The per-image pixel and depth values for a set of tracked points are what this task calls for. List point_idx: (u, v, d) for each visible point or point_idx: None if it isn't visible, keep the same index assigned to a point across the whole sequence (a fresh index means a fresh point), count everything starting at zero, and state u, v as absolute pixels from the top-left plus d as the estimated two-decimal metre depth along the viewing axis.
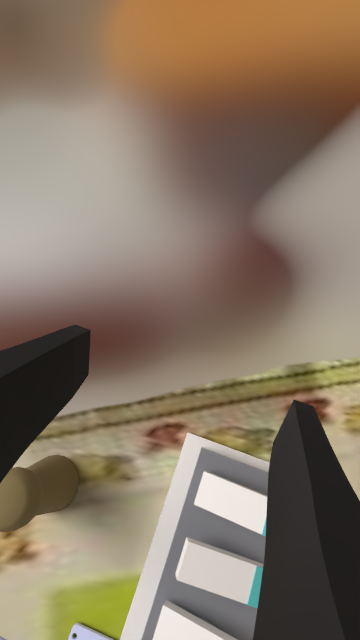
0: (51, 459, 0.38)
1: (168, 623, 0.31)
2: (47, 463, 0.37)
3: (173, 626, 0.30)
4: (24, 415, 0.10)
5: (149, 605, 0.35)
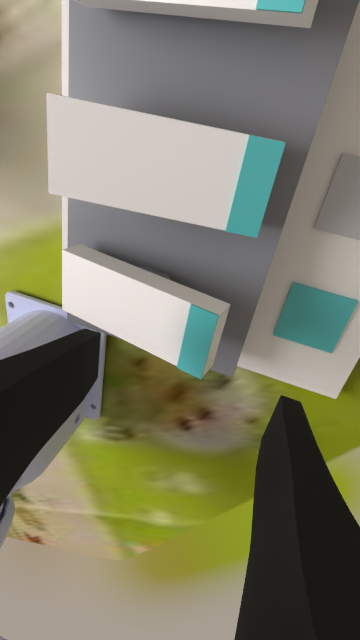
0: None
1: (77, 277, 0.16)
2: None
3: (85, 281, 0.16)
4: (36, 420, 0.10)
5: None
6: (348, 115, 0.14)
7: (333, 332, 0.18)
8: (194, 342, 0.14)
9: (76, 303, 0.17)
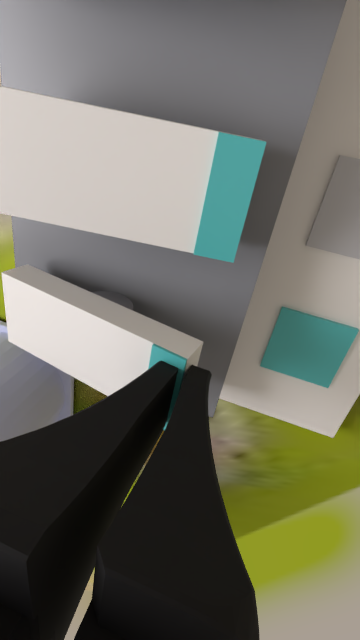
0: None
1: (21, 305, 0.13)
2: None
3: (30, 310, 0.13)
4: (134, 460, 0.09)
5: None
6: (347, 107, 0.11)
7: (329, 364, 0.15)
8: None
9: (23, 336, 0.14)
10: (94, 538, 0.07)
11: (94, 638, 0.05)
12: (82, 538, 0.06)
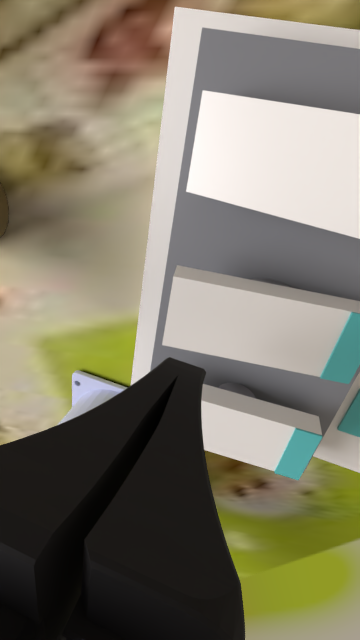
0: None
1: None
2: None
3: None
4: (137, 461, 0.09)
5: None
6: None
7: None
8: (294, 454, 0.16)
9: None
10: None
11: (82, 632, 0.05)
12: None
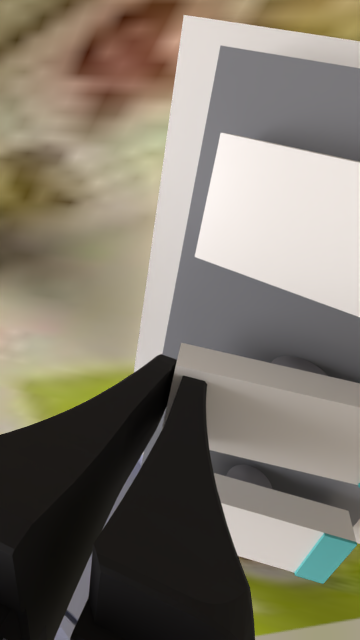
0: None
1: None
2: None
3: None
4: (126, 457, 0.09)
5: None
6: None
7: None
8: (320, 558, 0.13)
9: None
10: (86, 534, 0.07)
11: (90, 636, 0.05)
12: (72, 534, 0.06)
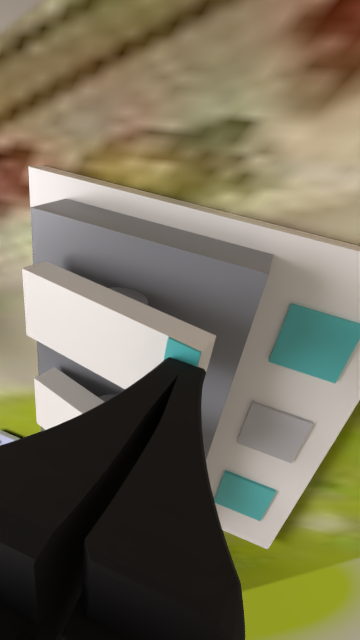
0: None
1: None
2: None
3: None
4: (137, 461, 0.09)
5: None
6: (254, 380, 0.17)
7: (259, 508, 0.22)
8: None
9: None
10: None
11: (82, 632, 0.05)
12: None
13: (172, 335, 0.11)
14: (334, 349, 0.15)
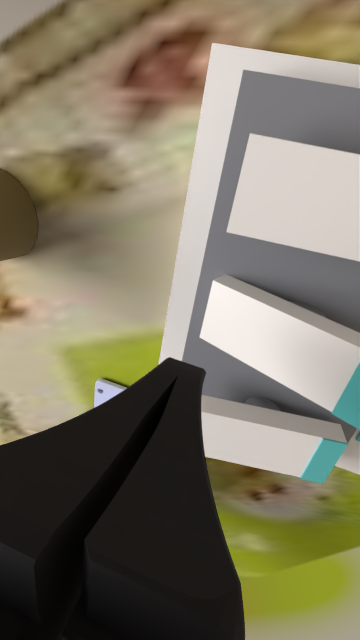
0: None
1: None
2: None
3: (210, 429, 0.17)
4: None
5: None
6: None
7: None
8: (320, 461, 0.17)
9: None
10: None
11: (82, 632, 0.05)
12: None
13: None
14: None
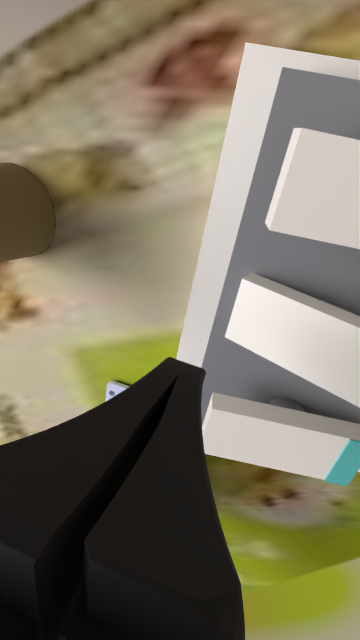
0: None
1: (225, 428, 0.17)
2: None
3: (235, 430, 0.17)
4: None
5: None
6: None
7: None
8: (345, 463, 0.17)
9: (218, 447, 0.18)
10: None
11: (82, 632, 0.05)
12: None
13: None
14: None
